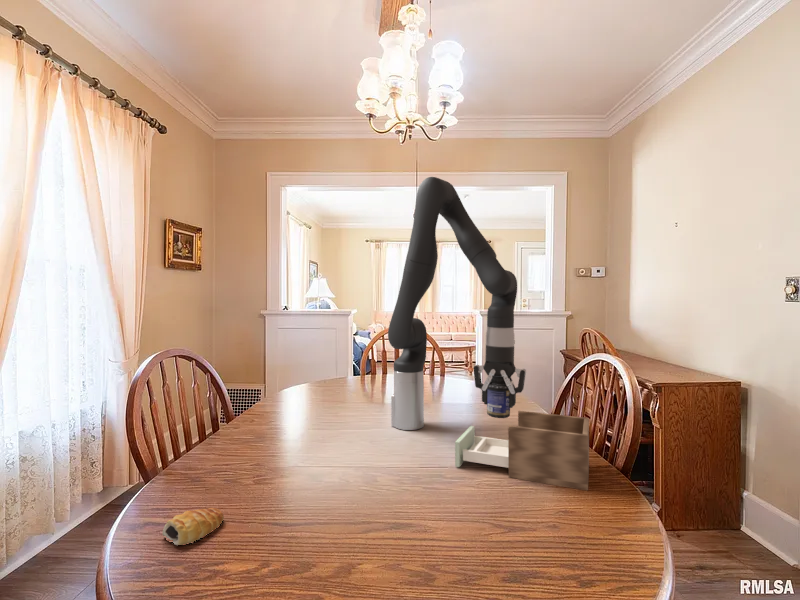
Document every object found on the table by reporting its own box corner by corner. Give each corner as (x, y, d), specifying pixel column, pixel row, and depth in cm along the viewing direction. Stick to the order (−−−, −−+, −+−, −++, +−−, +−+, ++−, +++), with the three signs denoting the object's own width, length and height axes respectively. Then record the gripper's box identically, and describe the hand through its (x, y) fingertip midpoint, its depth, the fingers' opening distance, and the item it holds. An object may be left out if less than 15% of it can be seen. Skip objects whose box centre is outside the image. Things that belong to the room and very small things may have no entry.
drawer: (455, 466, 99) (455, 442, 99) (470, 447, 111) (470, 425, 111) (525, 478, 92) (525, 452, 92) (533, 456, 104) (533, 433, 104)
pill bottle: (510, 419, 111) (511, 377, 111) (486, 417, 112) (487, 376, 112) (509, 412, 117) (510, 373, 117) (486, 411, 118) (487, 372, 118)
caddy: (508, 477, 93) (508, 426, 93) (519, 455, 106) (518, 410, 106) (587, 490, 87) (587, 436, 86) (589, 465, 99) (588, 418, 99)
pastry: (209, 515, 78) (209, 494, 78) (233, 525, 75) (233, 504, 75) (158, 539, 70) (158, 517, 70) (181, 553, 67) (181, 529, 67)
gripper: (470, 343, 113) (468, 405, 114) (525, 347, 108) (524, 412, 108) (477, 340, 120) (475, 399, 121) (529, 344, 114) (528, 405, 115)
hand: (498, 405), depth 114 cm, fingers closed on pill bottle, 6 cm apart
